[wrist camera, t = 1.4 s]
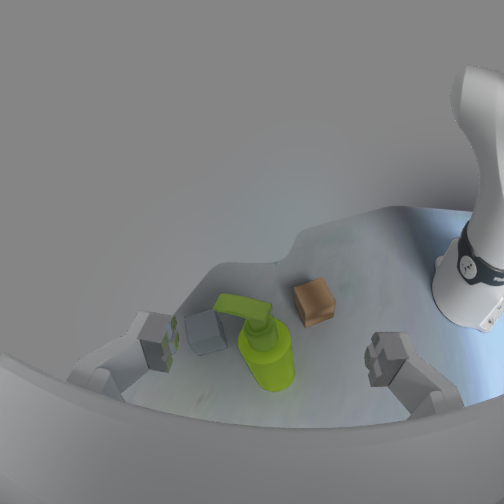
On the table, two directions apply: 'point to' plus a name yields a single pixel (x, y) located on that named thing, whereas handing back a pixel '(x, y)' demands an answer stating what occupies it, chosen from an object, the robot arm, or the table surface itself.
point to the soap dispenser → (261, 341)
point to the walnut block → (314, 302)
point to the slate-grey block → (205, 332)
